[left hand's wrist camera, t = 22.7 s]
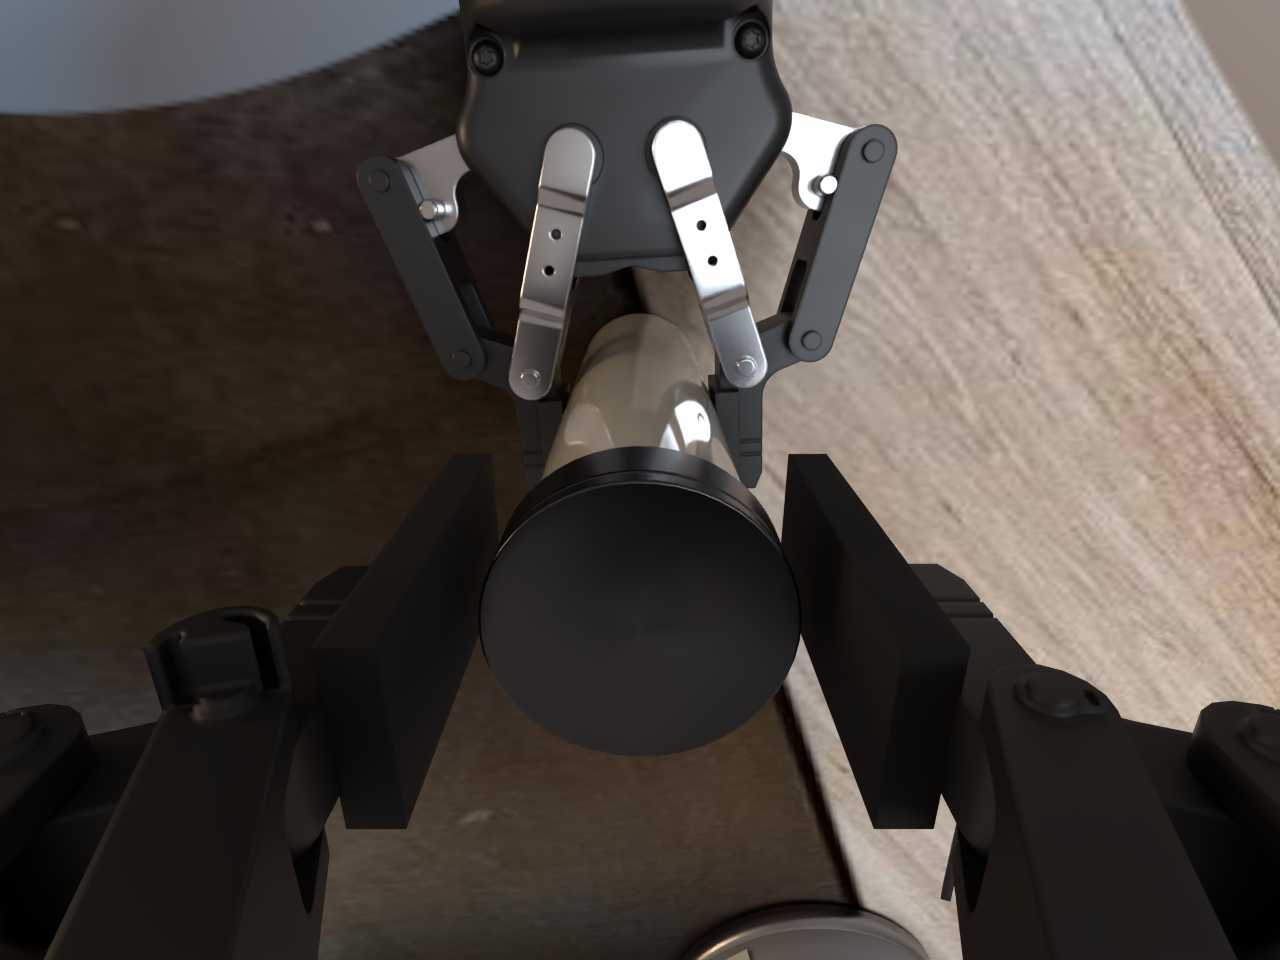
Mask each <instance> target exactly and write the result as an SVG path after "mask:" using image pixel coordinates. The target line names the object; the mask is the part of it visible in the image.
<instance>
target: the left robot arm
mask: <svg viewBox="0 0 1280 960" xmlns="http://www.w3.org/2000/svg"><path fill="white" fill-rule="evenodd" d="M781 545H782V547H783V550H784V552H785V554H786V557H787V560H788V562H789V564H790V567H791V569H792V572H793V575H794V577H795V580H796V583H797V586H798V591H799V596H800V601H801V615H802V625H801V635H802V638H803V641H804V643H805V646H806V649H807V651H808V654H809V657H810V659H811V662H812V665H813V667H814V670H815V673H816V675H817V678H818V681H819V683H820V686H821V689H822V691H823V694H824V697H825V699H826V702H827V705H828V707H829V710H830V713H831V715H832V718H833V721H834V723H835V726H836V729H837V732H838V734H839V737H840V740H841V742H842V745H843V748H844V750H845V753H846V756H847V758H848V761H849V764H850V766H851V769H852V772H853V774H854V777H855V780H856V782H857V785H858V788H859V790H860V793H861V796H862V798H863V801H864V804H865V806H866V809H867V812H868V814H869V817H870V820H871V822H872V825H873V828H874V829H934V825H935V820H936V815H937V810H938V805H939V801H940V796H941V794H942V796H943V798H944V800H945V802H946V804H947V806H948V807H949V809H950V811H951V813H952V815H953V817H954V819H955V821H956V828H955V832H954V837H953V841H952V846H951V850H950V855H949V859H948V864H947V868H946V873H945V877H944V882H943V887H942V894H941V899H943V900H947V901H951V896H952V892H953V888H954V887H955V895H956V904H957V912H958V921H959V929H960V938H961V947H962V955H963V960H1280V710H1279V709H1277V710H1275V709H1274V708H1273V707H1268V706H1264V705H1260V704H1252V703H1245V702H1238V701H1225V702H1215V703H1211V704H1210V705H1208V706H1207V707H1205V708H1204V709H1203V710H1201V712H1200V715H1199V718H1198V720H1197V723H1196V726H1195V728H1194V731H1193V733H1190V732H1185V731H1180V730H1175V729H1170V728H1165V727H1160V726H1156V725H1151V724H1146V723H1141V722H1136V721H1131V720H1128V719H1124V718H1121V716H1120V714H1119V712H1118V710H1117V709H1116V708H1115V706H1114V705H1113V704H1112V702H1111V701H1110V700H1109V699H1108V697H1107V696H1106V695H1105V694H1103V693H1102V692H1101V691H1099V690H1098V689H1097V688H1095V687H1094V686H1092V685H1091V684H1090V683H1088V682H1087V681H1085V680H1082V679H1080V678H1078V677H1076V676H1074V675H1071V674H1069V673H1067V672H1065V671H1062V670H1058V669H1054V668H1050V667H1046V666H1043V665H1038V664H1036V663H1035V662H1034V661H1033V660H1032V659H1031V657H1030V656H1029V655H1028V654H1027V653H1026V652H1025V651H1024V649H1023V648H1022V647H1021V646H1020V645H1019V644H1018V642H1017V641H1016V640H1015V639H1014V638H1013V637H1012V635H1011V634H1010V633H1009V632H1008V631H1007V630H1006V628H1005V627H1004V626H1003V625H1002V624H1001V623H1000V621H999V620H998V619H997V618H993V613H992V612H991V611H990V610H989V609H988V608H987V606H986V605H985V604H984V603H983V602H980V598H979V597H978V596H977V595H976V594H975V592H974V591H973V590H972V589H971V588H970V587H969V585H968V584H967V583H966V582H965V581H964V580H963V579H961V578H960V577H958V576H956V575H955V574H953V573H951V572H950V571H948V570H946V569H945V568H943V567H942V566H940V565H938V564H908V563H907V562H906V560H905V559H904V558H903V556H902V555H901V553H900V552H899V551H898V549H897V548H896V547H895V545H894V544H893V543H892V541H891V540H890V539H889V537H888V536H887V535H886V533H885V532H884V531H883V529H882V528H881V527H880V525H879V524H878V523H877V521H876V520H875V519H874V517H873V516H872V515H871V513H870V512H869V511H868V509H867V508H866V506H865V505H864V504H863V502H862V501H861V500H860V498H859V497H858V496H857V494H856V493H855V492H854V490H853V489H852V488H851V486H850V485H849V484H848V482H847V481H846V480H845V478H844V477H843V476H842V474H841V473H840V472H839V470H838V469H837V468H836V466H835V465H834V464H833V462H832V461H831V459H830V458H829V457H828V455H827V454H789V455H788V467H787V479H786V491H785V503H784V515H783V527H782V539H781ZM498 546H499V539H498V527H497V515H496V503H495V491H494V479H493V467H492V455H491V454H453V455H452V457H451V458H450V459H449V461H448V462H447V464H446V465H445V466H444V468H443V469H442V470H441V472H440V473H439V474H438V476H437V477H436V478H435V480H434V481H433V482H432V484H431V485H430V486H429V488H428V489H427V490H426V492H425V493H424V494H423V496H422V497H421V498H420V500H419V501H418V502H417V504H416V505H415V506H414V508H413V509H412V511H411V512H410V513H409V515H408V516H407V517H406V519H405V520H404V521H403V523H402V524H401V525H400V527H399V528H398V529H397V531H396V532H395V533H394V535H393V536H392V537H391V539H390V540H389V541H388V543H387V544H386V545H385V547H384V548H383V549H382V551H381V552H380V553H379V555H378V556H377V558H376V559H375V560H374V562H373V563H372V564H371V566H343V567H341V568H339V569H338V570H336V571H334V572H333V573H331V574H329V575H328V576H326V577H325V578H323V579H321V580H320V581H318V582H316V584H315V585H314V586H313V587H312V588H311V590H310V591H309V592H308V593H307V594H306V595H305V597H304V598H303V599H302V600H301V604H300V605H297V606H296V607H295V608H294V609H293V611H292V612H291V613H290V614H289V615H288V616H287V621H283V622H282V623H281V625H279V620H278V617H277V616H276V615H275V614H273V613H272V612H271V611H269V610H268V609H264V608H259V607H253V606H235V607H224V608H220V609H215V610H211V611H206V612H202V613H199V614H196V615H194V616H191V617H189V618H186V619H184V620H181V621H179V622H176V623H175V624H173V625H171V626H170V627H168V628H166V629H165V630H163V631H161V632H160V633H158V634H157V635H155V636H154V638H153V639H152V640H151V641H150V642H149V643H148V644H147V645H146V646H145V647H144V648H143V649H144V653H145V656H146V659H147V662H148V666H149V669H150V672H151V675H152V678H153V682H154V685H155V688H156V691H157V695H158V698H159V701H160V704H161V707H162V713H161V715H160V718H159V720H158V721H157V722H153V723H149V724H145V725H140V726H135V727H130V728H125V729H120V730H115V731H111V732H106V733H101V734H96V735H91V736H88V734H87V731H86V728H85V726H84V723H83V720H82V717H81V715H80V713H78V712H77V711H75V710H74V709H73V708H71V707H70V706H64V705H54V704H45V705H38V706H31V707H23V708H18V709H14V710H10V711H8V712H7V713H4V712H3V713H0V960H317V957H318V949H319V940H320V931H321V923H322V914H323V906H324V897H325V889H326V880H327V872H328V863H329V848H328V842H327V837H326V832H325V828H324V825H325V823H326V821H327V819H328V817H329V815H330V813H331V811H332V809H333V807H334V805H335V803H336V801H337V799H338V797H339V796H340V801H341V805H342V810H343V815H344V820H345V825H346V829H406V828H407V825H408V822H409V820H410V817H411V814H412V812H413V809H414V806H415V804H416V801H417V798H418V796H419V793H420V790H421V788H422V785H423V782H424V780H425V777H426V774H427V772H428V769H429V766H430V764H431V761H432V758H433V756H434V753H435V750H436V748H437V745H438V742H439V740H440V737H441V734H442V732H443V729H444V726H445V723H446V721H447V718H448V715H449V713H450V710H451V707H452V705H453V702H454V699H455V697H456V694H457V691H458V689H459V686H460V683H461V681H462V678H463V675H464V673H465V670H466V667H467V665H468V662H469V659H470V657H471V654H472V651H473V649H474V646H475V643H476V641H477V638H478V635H479V622H478V613H479V601H480V596H481V591H482V587H483V583H484V580H485V577H486V575H487V572H488V570H489V567H490V565H491V563H492V560H493V558H494V555H495V553H496V550H497V548H498ZM681 960H930V958H929V956H928V954H927V953H926V952H925V950H924V949H923V947H922V946H921V945H920V944H919V943H918V942H917V941H916V939H915V938H913V937H912V936H911V935H910V934H909V933H907V932H906V931H905V930H903V929H902V928H900V927H899V926H897V925H895V924H894V923H892V922H890V921H888V920H886V919H884V918H881V917H879V916H877V915H874V914H871V913H868V912H865V911H861V910H857V909H853V908H847V907H841V906H833V905H817V904H807V905H792V906H783V907H777V908H772V909H767V910H763V911H759V912H756V913H752V914H749V915H746V916H744V917H741V918H738V919H736V920H734V921H731V922H729V923H727V924H725V925H723V926H721V927H719V928H717V929H716V930H714V931H713V932H711V933H710V934H708V935H706V936H705V937H704V938H703V939H701V940H700V941H699V942H697V943H696V944H695V945H694V946H693V947H692V948H691V949H690V950H689V951H688V952H687V953H686V954H685V956H684V957H683V958H682V959H681Z"/></svg>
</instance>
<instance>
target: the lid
mask: <svg viewBox="0 0 1280 960" xmlns="http://www.w3.org/2000/svg"><path fill="white" fill-rule="evenodd" d="M478 622H479V635H480V640H481V644H482V648H483V653H484V656H485V658H486V661H487V663H488V666H489V668H490V671H491V673H492V674H493V676H494V678H495V680H496V681H497V683H498V685H499V687H500V688H501V689H502V691H503V692H504V693H505V695H506V696H507V697H508V699H509V700H510V701H511V702H512V703H513V704H514V705H515V706H516V707H517V708H518V709H519V710H520V711H521V712H522V713H523V714H524V715H525V716H526V717H528V718H529V719H530V720H531V721H533V722H534V723H535V724H536V725H538V726H539V727H541V728H543V729H544V730H546V731H547V732H549V733H551V734H552V735H554V736H556V737H558V738H560V739H562V740H565V741H567V742H569V743H571V744H574V745H577V746H580V747H583V748H586V749H589V750H593V751H597V752H601V753H606V754H612V755H621V756H639V757H648V756H660V755H668V754H673V753H679V752H684V751H688V750H691V749H694V748H697V747H701V746H704V745H706V744H708V743H711V742H713V741H716V740H718V739H720V738H722V737H724V736H726V735H727V734H729V733H731V732H733V731H734V730H736V729H738V728H739V727H741V726H742V725H743V724H745V723H746V722H747V721H749V720H750V719H752V718H753V717H754V716H755V715H756V714H757V713H758V712H759V711H760V710H761V709H762V708H763V707H765V706H766V704H767V703H768V702H769V701H770V700H771V698H772V697H773V696H774V695H775V694H776V692H777V691H778V690H779V688H780V686H781V685H782V683H783V682H784V680H785V678H786V677H787V675H788V673H789V670H790V668H791V666H792V664H793V661H794V659H795V656H796V652H797V648H798V645H799V641H800V633H801V625H802V615H801V601H800V596H799V591H798V586H797V583H796V580H795V577H794V575H793V572H792V569H791V567H790V564H789V562H788V560H787V557H786V554H785V552H784V550H783V547H782V545H781V542H780V540H779V538H778V535H777V533H776V530H775V528H774V526H773V524H772V522H771V520H770V518H769V516H768V514H767V513H766V511H765V509H764V508H763V507H762V505H761V504H760V503H759V501H758V500H757V499H756V497H755V496H754V495H753V494H752V493H751V492H750V491H749V490H748V489H747V488H746V487H745V486H744V485H743V484H742V483H741V482H740V481H738V480H737V479H736V478H735V477H733V476H732V475H731V474H729V473H728V472H727V471H725V470H723V469H721V468H720V467H718V466H716V465H715V464H713V463H711V462H709V461H707V460H704V459H702V458H699V457H697V456H695V455H692V454H688V453H685V452H681V451H678V450H674V449H668V448H661V447H654V446H629V447H619V448H612V449H607V450H603V451H599V452H594V453H591V454H589V455H586V456H583V457H581V458H578V459H575V460H573V461H571V462H569V463H568V464H566V465H564V466H562V467H560V468H558V469H557V470H555V471H554V472H552V473H551V474H550V475H548V476H547V477H545V478H544V479H543V480H541V481H540V482H539V483H538V484H537V485H536V486H535V487H534V488H533V489H532V490H531V491H530V492H529V493H528V494H527V495H526V496H525V498H524V499H523V500H522V501H521V503H520V504H519V505H518V506H517V508H516V510H515V511H514V513H513V515H512V516H511V518H510V520H509V522H508V524H507V526H506V529H505V531H504V534H503V536H502V538H501V541H500V543H499V546H498V548H497V550H496V553H495V555H494V558H493V560H492V563H491V565H490V567H489V570H488V572H487V575H486V577H485V580H484V583H483V587H482V591H481V596H480V601H479V613H478Z"/></svg>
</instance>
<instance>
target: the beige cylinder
mask: <svg viewBox="0 0 1280 960" xmlns="http://www.w3.org/2000/svg"><path fill="white" fill-rule="evenodd" d="M629 446H654V447H661V448H668V449H674V450H678V451H681V452H685V453H688V454H692V455H695V456H697V457H699V458H702V459H704V460H707V461H709V462H711V463H713V464H715V465H716V466H718V467H720V468H721V469H723V470H725V471H727V472H728V473H729V474H731V475H732V476H733V477H735V478H736V479H737V480H738V481H740V482H741V480H740V477H739V474H738V472H737V469H736V466H735V463H734V461H733V458H732V455H731V452H730V450H729V447H728V444H727V441H726V439H725V436H724V433H723V430H722V428H721V425H720V422H719V419H718V417H717V414H716V411H715V408H714V406H713V403H712V400H711V397H710V395H709V392H708V389H707V386H706V383H705V381H704V378H703V375H702V372H701V370H700V367H699V364H698V361H697V359H696V356H695V353H694V350H693V348H692V346H691V344H690V342H689V340H688V339H687V337H686V336H685V335H684V333H683V332H682V331H681V330H680V329H679V328H678V327H676V326H675V325H674V324H672V323H671V322H669V321H668V320H666V319H663V318H661V317H658V316H655V315H650V314H638V313H637V314H629V315H625V316H622V317H619V318H617V319H614V320H613V321H611V322H609V323H608V324H606V325H605V326H604V327H602V328H601V329H600V330H599V331H598V332H597V334H596V335H595V336H594V337H593V339H592V340H591V342H590V344H589V346H588V348H587V351H586V353H585V356H584V359H583V361H582V364H581V367H580V370H579V372H578V375H577V378H576V381H575V383H574V386H573V389H572V392H571V394H570V397H569V400H568V403H567V405H566V408H565V411H564V414H563V416H562V419H561V422H560V425H559V427H558V430H557V433H556V436H555V438H554V441H553V444H552V447H551V449H550V452H549V455H548V458H547V460H546V463H545V466H544V468H543V471H542V474H541V477H540V479H539V482H540V481H541V480H543V479H544V478H545V477H547V476H548V475H550V474H551V473H552V472H554V471H555V470H557V469H558V468H560V467H562V466H564V465H566V464H568V463H569V462H571V461H573V460H575V459H578V458H581V457H583V456H586V455H589V454H591V453H594V452H599V451H603V450H607V449H612V448H619V447H629ZM539 482H538V483H539Z"/></svg>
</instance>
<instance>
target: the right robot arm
mask: <svg viewBox="0 0 1280 960" xmlns="http://www.w3.org/2000/svg"><path fill="white" fill-rule="evenodd" d="M459 5H460V13H461V20H462V28H463V36H464V44H465V52H466V60H467V84H466V91H465V95H464V99H463V102H462V105H461V108H460V110H459V113H458V116H457V120H456V128H455V133H456V134H454V135H452V136H449V137H447V138H444V139H442V140H440V141H437V142H435V143H432V144H430V145H428V146H425V147H423V148H420V149H418V150H416V151H413V152H411V153H408V154H406V155H404V156H401V157H398V158H394V157H389V156H384V155H372V156H369V157H367V158H366V159H364V160H363V161H362V163H361V164H360V166H359V168H358V171H357V184H358V187H359V190H360V192H361V194H362V196H363V199H364V201H365V203H366V205H367V207H368V209H369V211H370V213H371V216H372V218H373V220H374V222H375V224H376V226H377V228H378V230H379V233H380V235H381V237H382V239H383V241H384V243H385V245H386V247H387V250H388V252H389V254H390V256H391V258H392V260H393V262H394V264H395V267H396V269H397V271H398V273H399V275H400V277H401V279H402V281H403V284H404V286H405V288H406V290H407V292H408V294H409V296H410V298H411V301H412V303H413V305H414V307H415V309H416V311H417V313H418V315H419V318H420V320H421V322H422V324H423V326H424V328H425V330H426V332H427V335H428V337H429V339H430V341H431V343H432V345H433V347H434V349H435V352H436V354H437V356H438V358H439V360H440V362H441V364H442V366H443V368H444V370H445V371H446V373H447V374H448V375H450V376H451V377H453V378H454V379H457V380H460V381H469V380H472V379H475V380H479V381H482V382H486V383H489V384H493V385H496V386H499V387H500V388H502V389H504V390H505V391H506V392H507V393H508V394H509V395H510V396H511V397H512V399H513V401H514V403H515V407H516V413H517V421H518V429H519V437H520V445H521V452H522V460H523V466H524V467H523V468H524V476H525V484H526V486H527V488H528V490H529V491H531V490H532V489H533V488H534V487H535V486H536V485H537V484H538V482H539V479H540V477H541V474H542V471H543V468H544V466H545V463H546V460H547V458H548V455H549V452H550V449H551V447H552V444H553V441H554V438H555V436H556V433H557V430H558V427H559V425H560V422H561V419H562V416H563V414H564V411H565V408H566V405H567V403H568V400H569V397H570V389H569V382H568V383H561V373H560V367H561V363H562V358H563V353H564V348H565V343H566V339H567V334H568V329H569V324H570V319H571V315H572V311H573V307H574V303H575V299H576V295H577V290H578V286H579V281H580V277H591V276H603V275H606V274H609V273H612V272H615V271H618V270H620V269H623V268H626V267H629V266H635V267H640V268H644V269H649V270H654V271H658V272H674V271H687V273H688V276H689V279H690V282H691V285H692V288H693V291H694V294H695V297H696V299H697V302H698V305H699V308H700V311H701V313H702V316H703V319H704V322H705V325H706V328H707V331H708V334H709V337H710V340H711V343H712V346H713V349H714V352H715V375H708V392H709V395H710V397H711V400H712V403H713V406H714V408H715V411H716V414H717V417H718V419H719V422H720V425H721V428H722V430H723V433H724V436H725V439H726V441H727V444H728V447H729V450H730V452H731V455H732V458H733V461H734V463H735V466H736V469H737V472H738V474H739V477H740V480H741V483H742V484H743V485H744V486H745V487H746V488H755V487H756V485H757V482H758V480H759V478H760V475H761V473H762V394H763V389H764V386H765V384H766V382H767V380H768V379H769V378H770V377H771V376H772V375H773V374H774V373H775V372H777V371H779V370H781V369H783V368H785V367H788V366H790V365H793V364H795V363H798V362H800V361H804V362H816V361H818V360H820V359H822V358H824V357H825V356H826V355H827V354H828V353H829V351H830V350H831V348H832V346H833V343H834V340H835V337H836V334H837V331H838V328H839V325H840V322H841V319H842V316H843V313H844V310H845V307H846V304H847V301H848V298H849V295H850V292H851V289H852V286H853V283H854V280H855V277H856V274H857V271H858V268H859V265H860V262H861V260H862V257H863V254H864V251H865V248H866V245H867V242H868V239H869V236H870V233H871V230H872V227H873V224H874V221H875V218H876V215H877V212H878V209H879V206H880V203H881V200H882V197H883V194H884V191H885V188H886V185H887V182H888V179H889V176H890V173H891V170H892V167H893V164H894V162H895V159H896V155H897V141H896V138H895V136H894V134H893V132H892V131H891V130H890V129H888V128H887V127H885V126H883V125H880V124H872V125H868V126H862V127H859V128H850V127H846V126H842V125H839V124H835V123H831V122H828V121H824V120H820V119H817V118H813V117H809V116H805V115H802V114H798V113H794V112H792V105H791V101H790V98H789V95H788V93H787V91H786V89H785V87H784V85H783V83H782V81H781V79H780V77H779V74H778V71H777V68H776V65H775V60H774V56H773V47H772V0H459ZM779 154H780V155H782V156H783V157H784V158H786V159H787V161H788V162H789V163H790V165H791V168H792V172H793V181H792V195H793V198H794V200H795V201H796V203H797V204H798V205H799V206H800V207H802V208H804V209H807V210H808V211H807V215H806V218H805V221H804V225H803V228H802V231H801V235H800V238H799V241H798V245H797V248H796V251H795V254H794V258H793V261H792V264H791V268H790V271H789V274H788V278H787V281H786V284H785V288H784V291H783V294H782V298H781V301H780V304H779V307H778V311H777V314H776V315H774V316H771V317H769V318H767V319H764V320H762V321H760V322H757V323H755V320H754V317H753V313H752V310H751V307H750V303H749V299H748V292H747V288H746V284H745V281H744V278H743V274H742V271H741V268H740V265H739V261H738V258H737V255H736V252H735V249H734V245H733V242H732V239H731V236H730V232H729V231H730V230H731V228H732V227H733V225H734V224H735V222H736V221H737V219H738V218H739V216H740V215H741V213H742V211H743V210H744V208H745V207H746V205H747V204H748V202H749V201H750V199H751V198H752V196H753V194H754V193H755V191H756V190H757V188H758V187H759V185H760V184H761V182H762V181H763V179H764V178H765V176H766V174H767V173H768V171H769V170H770V168H771V167H772V165H773V164H774V162H775V161H776V159H777V157H778V156H779ZM473 174H474V176H475V177H476V178H477V179H478V180H479V182H480V183H481V184H482V185H483V186H484V188H485V189H486V190H487V191H488V192H489V194H490V195H491V196H492V197H493V198H494V200H495V201H496V202H497V203H498V204H499V206H500V207H501V208H502V209H503V211H504V212H505V213H506V214H507V215H508V217H509V218H510V219H511V220H512V221H513V223H514V224H515V225H516V226H517V227H518V229H519V230H520V231H521V232H522V233H523V235H524V236H525V237H526V238H527V239H528V241H529V242H530V246H529V251H528V257H527V262H526V268H525V273H524V279H523V284H522V290H521V296H520V302H519V321H518V326H517V332H516V337H515V336H512V335H509V334H505V333H502V332H498V331H497V330H496V328H495V326H494V323H493V321H492V319H491V316H490V314H489V312H488V309H487V307H486V305H485V302H484V300H483V298H482V296H481V293H480V291H479V289H478V286H477V284H476V282H475V279H474V277H473V275H472V273H471V270H470V268H469V266H468V263H467V261H466V259H465V256H464V254H463V252H462V249H461V247H460V245H459V243H458V240H457V238H456V236H455V233H454V231H456V230H457V229H459V228H460V227H461V226H462V225H463V223H464V221H465V219H466V213H467V210H466V204H465V201H464V187H465V184H466V182H467V180H468V179H469V178H470V177H471V176H472V175H473Z"/></svg>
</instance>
